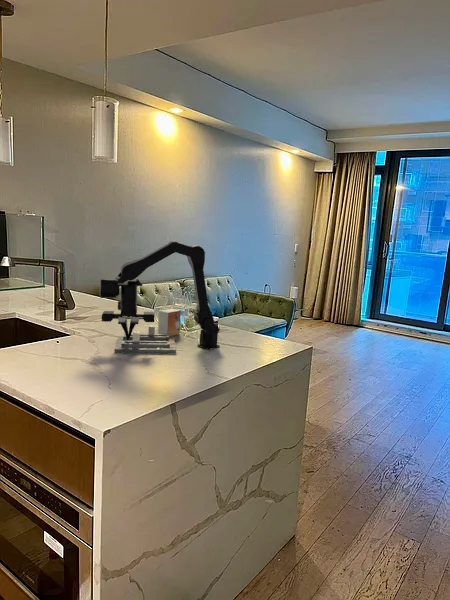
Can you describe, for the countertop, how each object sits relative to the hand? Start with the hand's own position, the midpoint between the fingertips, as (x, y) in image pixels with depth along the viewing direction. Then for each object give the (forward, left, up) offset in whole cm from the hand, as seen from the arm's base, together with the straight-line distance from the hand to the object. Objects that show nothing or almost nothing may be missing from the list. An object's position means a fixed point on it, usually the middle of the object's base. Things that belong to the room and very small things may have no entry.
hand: (128, 339), depth 169 cm
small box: (+7, -26, -4) cm, 28 cm away
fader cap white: (-2, -2, -2) cm, 4 cm away
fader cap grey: (+2, -13, -2) cm, 13 cm away
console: (-1, -7, -4) cm, 9 cm away
